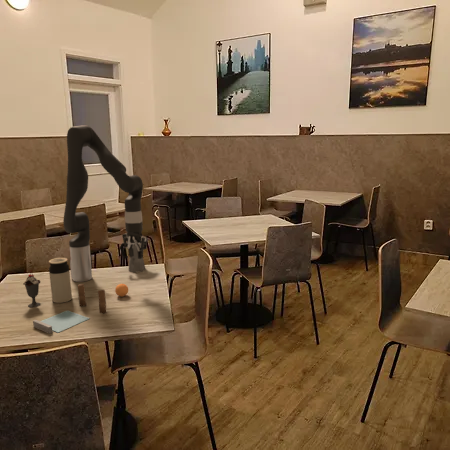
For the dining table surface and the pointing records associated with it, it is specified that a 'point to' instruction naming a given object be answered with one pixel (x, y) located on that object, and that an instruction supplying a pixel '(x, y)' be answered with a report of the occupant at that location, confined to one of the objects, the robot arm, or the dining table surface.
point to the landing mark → (64, 320)
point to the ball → (121, 290)
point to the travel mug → (60, 280)
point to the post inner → (81, 295)
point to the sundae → (32, 289)
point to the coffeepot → (134, 260)
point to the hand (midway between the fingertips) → (136, 257)
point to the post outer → (102, 301)
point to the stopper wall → (42, 326)
